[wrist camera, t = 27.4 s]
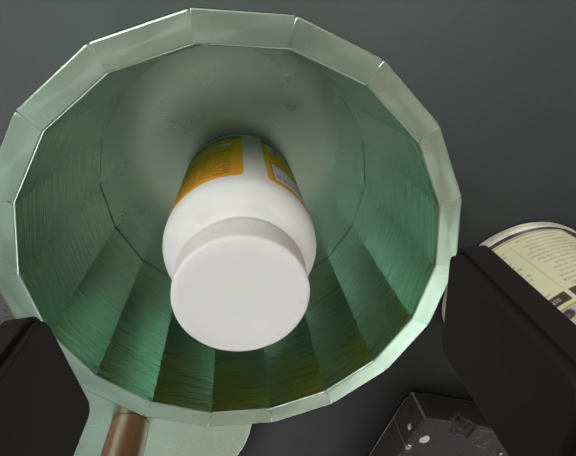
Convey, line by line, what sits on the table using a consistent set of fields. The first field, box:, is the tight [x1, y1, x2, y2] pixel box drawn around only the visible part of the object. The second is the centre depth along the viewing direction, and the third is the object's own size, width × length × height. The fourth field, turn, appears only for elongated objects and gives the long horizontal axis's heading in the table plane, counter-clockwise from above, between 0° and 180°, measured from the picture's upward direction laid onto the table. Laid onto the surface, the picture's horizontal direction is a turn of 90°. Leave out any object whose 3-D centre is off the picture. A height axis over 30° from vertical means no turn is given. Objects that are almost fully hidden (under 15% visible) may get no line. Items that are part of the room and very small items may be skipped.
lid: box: [74, 389, 252, 456], centre depth 23 cm, size 16×16×6 cm
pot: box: [0, 7, 462, 427], centre depth 16 cm, size 15×15×8 cm
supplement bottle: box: [162, 135, 316, 351], centre depth 15 cm, size 5×5×10 cm
